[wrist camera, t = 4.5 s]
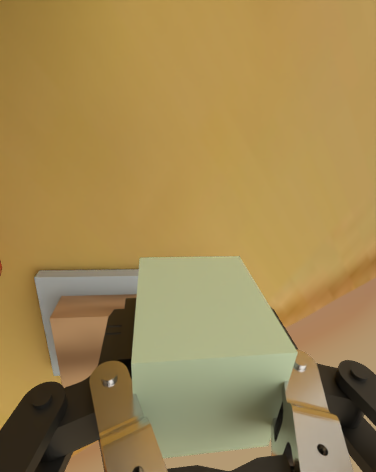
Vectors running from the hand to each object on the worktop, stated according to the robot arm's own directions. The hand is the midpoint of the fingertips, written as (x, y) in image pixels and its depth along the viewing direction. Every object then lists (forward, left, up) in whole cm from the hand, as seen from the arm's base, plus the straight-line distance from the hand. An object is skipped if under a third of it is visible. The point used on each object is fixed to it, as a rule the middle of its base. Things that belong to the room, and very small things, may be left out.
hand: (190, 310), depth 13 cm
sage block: (0, 0, -1) cm, 1 cm away
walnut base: (+10, -6, -10) cm, 16 cm away
